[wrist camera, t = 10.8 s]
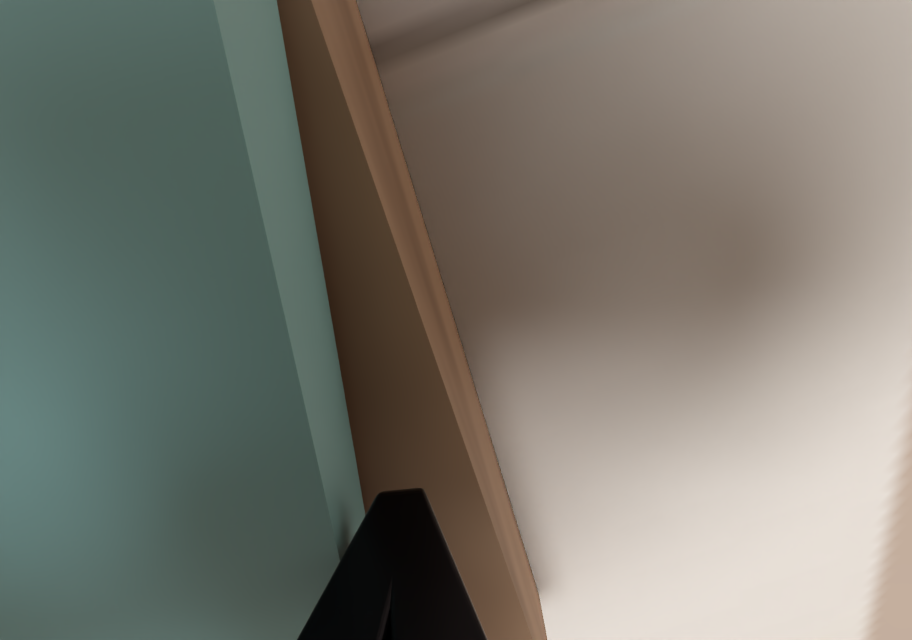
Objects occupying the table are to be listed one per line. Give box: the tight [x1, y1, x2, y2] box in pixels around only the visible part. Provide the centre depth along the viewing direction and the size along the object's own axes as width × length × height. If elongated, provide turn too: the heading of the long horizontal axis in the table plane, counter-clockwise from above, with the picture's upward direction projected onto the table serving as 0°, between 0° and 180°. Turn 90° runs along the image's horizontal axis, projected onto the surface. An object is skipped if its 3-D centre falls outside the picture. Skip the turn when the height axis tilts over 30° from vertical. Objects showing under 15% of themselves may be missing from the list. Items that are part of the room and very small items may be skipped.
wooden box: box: [277, 0, 547, 640], centre depth 12 cm, size 16×24×4 cm
